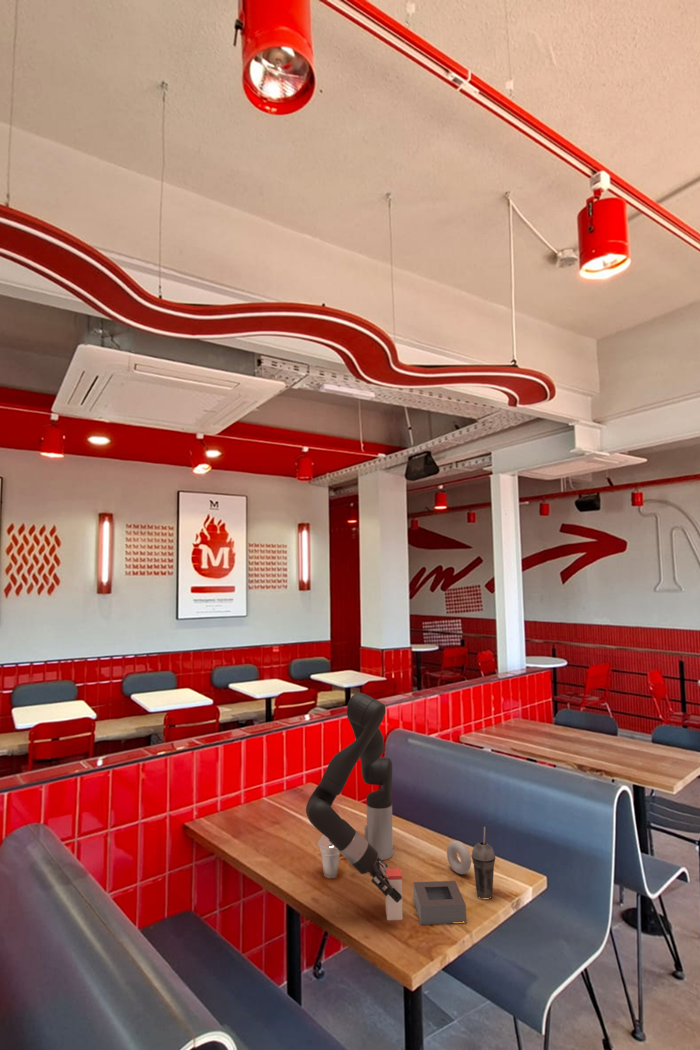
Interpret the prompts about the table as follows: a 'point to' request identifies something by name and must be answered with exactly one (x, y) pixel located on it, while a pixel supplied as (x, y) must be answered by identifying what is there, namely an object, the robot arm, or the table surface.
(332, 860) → the cup with straw
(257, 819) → the table surface
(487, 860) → the beverage cup
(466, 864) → the donut
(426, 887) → the square socket housing
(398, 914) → the plug peg
